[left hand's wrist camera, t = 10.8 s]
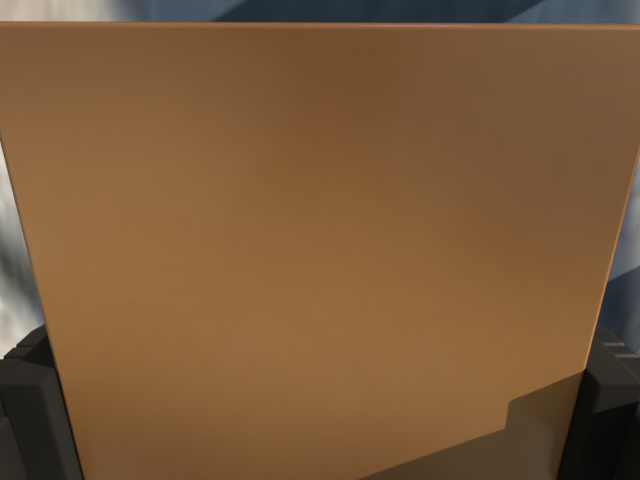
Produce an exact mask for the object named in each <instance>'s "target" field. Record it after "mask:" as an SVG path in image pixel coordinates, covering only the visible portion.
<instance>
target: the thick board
mask: <svg viewBox="0 0 640 480" xmlns="http://www.w3.org/2000/svg"><path fill="white" fill-rule="evenodd" d="M0 142H1V146H2V150H3V154H4V158H5V162H6V166H7V170H8V175H9V179H10V183H11V187H12V191H13V195H14V199H15V203H16V207H17V211H18V215H19V219H20V224H21V228H22V232H23V236H24V240H25V244H26V248H27V252H28V256H29V260H30V264H31V268H32V273H33V277H34V281H35V285H36V289H37V293H38V297H39V301H40V305H41V309H42V313H43V317H44V322H45V326H46V330H47V334H48V338H49V342H50V346H51V350H52V354H53V358H54V362H55V366H56V371H57V375H58V379H59V383H60V387H61V391H62V395H63V399H64V403H65V407H66V411H67V416H68V420H69V424H70V428H71V432H72V436H73V440H74V444H75V448H76V452H77V456H78V460H79V465H80V469H81V473H82V477H83V480H557V477H558V473H559V469H560V465H561V461H562V457H563V453H564V450H565V446H566V442H567V438H568V434H569V430H570V426H571V422H572V418H573V414H574V410H575V406H576V402H577V398H578V394H579V391H580V387H581V383H582V379H583V375H584V371H585V367H586V363H587V359H588V355H589V351H590V347H591V343H592V339H593V335H594V332H595V328H596V324H597V320H598V316H599V312H600V308H601V304H602V300H603V296H604V292H605V288H606V284H607V280H608V277H609V273H610V269H611V265H612V261H613V257H614V253H615V249H616V245H617V241H618V237H619V233H620V229H621V225H622V221H623V218H624V214H625V210H626V206H627V202H628V198H629V194H630V190H631V186H632V182H633V178H634V174H635V170H636V166H637V162H638V159H639V155H640V24H566V23H313V22H60V21H0Z"/></svg>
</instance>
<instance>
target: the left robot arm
mask: <svg viewBox="0 0 640 480" xmlns="http://www.w3.org/2000/svg"><path fill="white" fill-rule="evenodd" d="M615 479H616V480H640V358H638V357H637V354H636V353H635V352H633V351H632V350H631V349H630V348H629V347H628V346H625V345H624V343H623V342H622V341H621V340H620V339H619V338H618V337H617V336H616V335H614V334H613V333H612V332H611V331H610V330H609V329H607V328H605V327H603V326H601V325H599V324H598V323H597V324H596V328H595V332H594V335H593V339H592V343H591V347H590V351H589V355H588V359H587V363H586V367H585V371H584V375H583V379H582V383H581V387H580V391H579V394H578V398H577V402H576V406H575V410H574V414H573V418H572V422H571V426H570V430H569V434H568V438H567V442H566V446H565V450H564V453H563V457H562V461H561V465H560V469H559V473H558V477H557V480H615ZM0 480H83V477H82V473H81V469H80V465H79V460H78V456H77V452H76V448H75V444H74V440H73V436H72V432H71V428H70V424H69V420H68V416H67V411H66V407H65V403H64V399H63V395H62V391H61V387H60V383H59V379H58V375H57V371H56V366H55V362H54V358H53V354H52V350H51V346H50V342H49V338H48V334H47V330H46V326H45V324H44V325H42V326H40V327H38V328H37V329H35V330H33V331H31V332H30V333H29V334H28V335H27V336H26V337H25V338H24V339H22V340H21V341H20V342H19V343H18V344H17V346H16V348H13V349H11V350H10V351H9V352H8V353H7V354H6V355H5V356H4V359H0Z"/></svg>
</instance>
